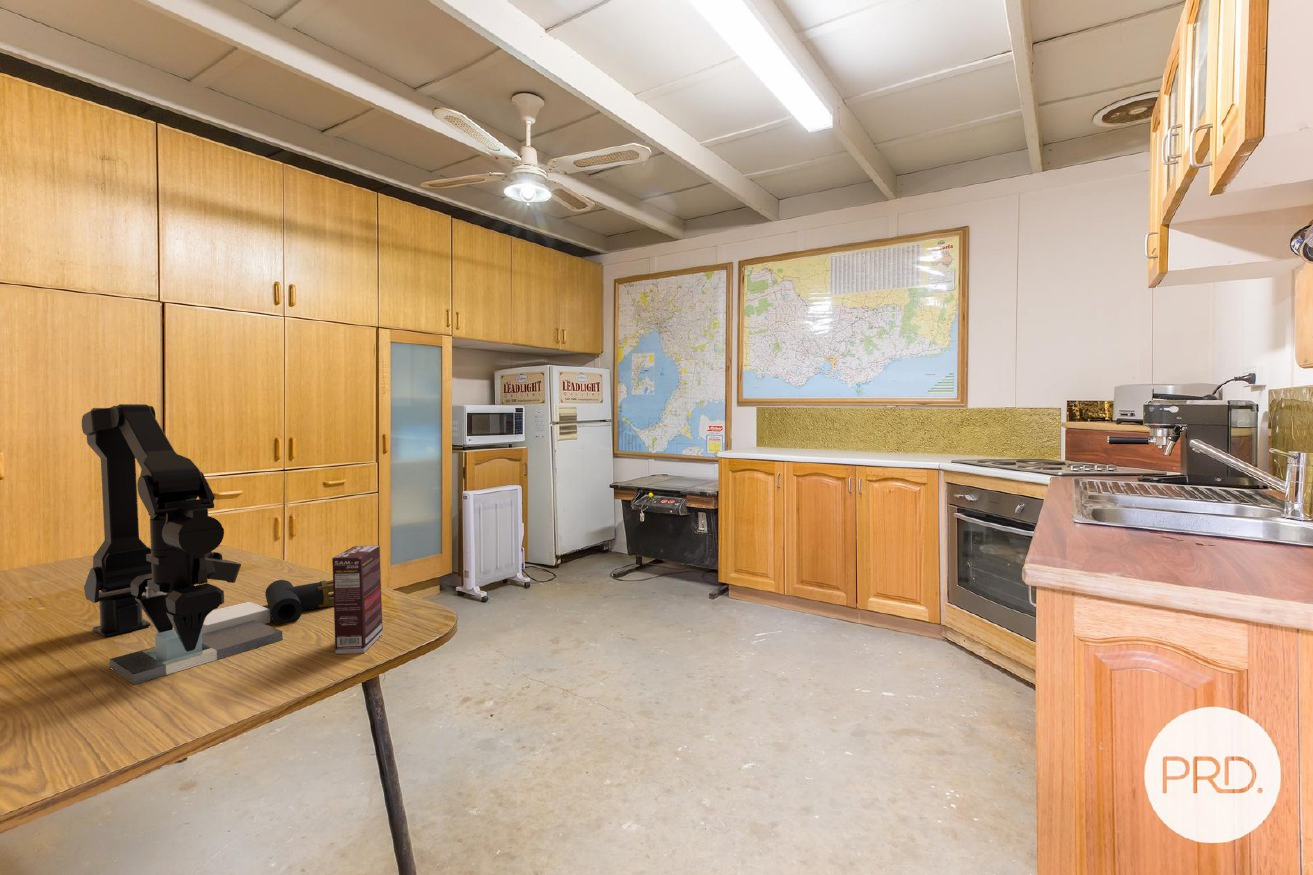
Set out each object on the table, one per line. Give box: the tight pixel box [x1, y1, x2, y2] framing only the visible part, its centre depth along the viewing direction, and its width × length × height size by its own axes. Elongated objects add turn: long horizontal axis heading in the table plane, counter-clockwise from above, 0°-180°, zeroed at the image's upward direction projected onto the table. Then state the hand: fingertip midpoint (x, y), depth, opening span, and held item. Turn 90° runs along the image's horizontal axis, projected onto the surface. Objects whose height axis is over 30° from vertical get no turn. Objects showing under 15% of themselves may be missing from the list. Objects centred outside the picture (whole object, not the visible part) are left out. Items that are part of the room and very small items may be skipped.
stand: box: [201, 601, 271, 634], centre depth 109 cm, size 8×10×2 cm
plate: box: [109, 620, 284, 685], centre depth 97 cm, size 10×20×2 cm, turn 147°
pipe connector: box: [264, 579, 334, 626], centre depth 118 cm, size 12×5×15 cm
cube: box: [154, 628, 202, 662], centre depth 94 cm, size 4×4×4 cm
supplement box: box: [331, 544, 384, 655], centre depth 100 cm, size 9×5×16 cm, turn 5°
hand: (178, 644), depth 94 cm, fingers open, 9 cm apart
